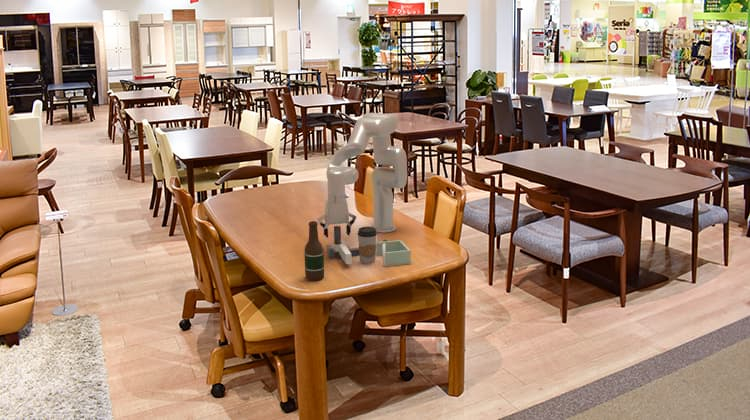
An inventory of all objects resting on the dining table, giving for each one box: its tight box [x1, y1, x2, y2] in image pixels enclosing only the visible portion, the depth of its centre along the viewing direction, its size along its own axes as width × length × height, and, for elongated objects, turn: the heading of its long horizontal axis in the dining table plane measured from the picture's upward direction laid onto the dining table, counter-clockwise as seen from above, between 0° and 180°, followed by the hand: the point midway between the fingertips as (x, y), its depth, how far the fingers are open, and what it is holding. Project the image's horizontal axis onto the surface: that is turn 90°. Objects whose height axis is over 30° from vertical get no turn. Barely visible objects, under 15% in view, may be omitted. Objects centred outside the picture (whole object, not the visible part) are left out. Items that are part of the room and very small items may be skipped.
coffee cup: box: [357, 226, 378, 265], centre depth 302 cm, size 8×8×15 cm
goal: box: [375, 235, 412, 268], centre depth 306 cm, size 15×12×10 cm
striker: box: [332, 225, 353, 265], centre depth 303 cm, size 17×6×12 cm, turn 15°
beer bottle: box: [303, 220, 325, 282], centre depth 284 cm, size 8×8×24 cm
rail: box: [326, 239, 388, 261], centre depth 313 cm, size 5×28×5 cm, turn 105°
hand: (337, 235), depth 308 cm, fingers open, 9 cm apart
